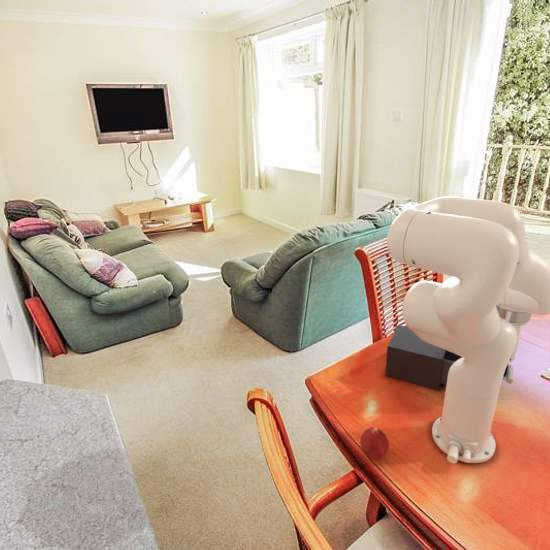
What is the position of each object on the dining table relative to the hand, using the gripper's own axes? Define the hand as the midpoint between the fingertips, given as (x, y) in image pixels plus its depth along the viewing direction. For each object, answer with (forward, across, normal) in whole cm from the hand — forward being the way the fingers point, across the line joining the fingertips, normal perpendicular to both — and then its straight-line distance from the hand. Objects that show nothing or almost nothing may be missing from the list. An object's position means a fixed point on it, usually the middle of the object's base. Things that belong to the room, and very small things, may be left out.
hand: (498, 375), depth 94 cm
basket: (+4, 0, -6) cm, 7 cm away
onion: (+5, +33, -21) cm, 40 cm away
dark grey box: (+5, 0, -19) cm, 20 cm away
